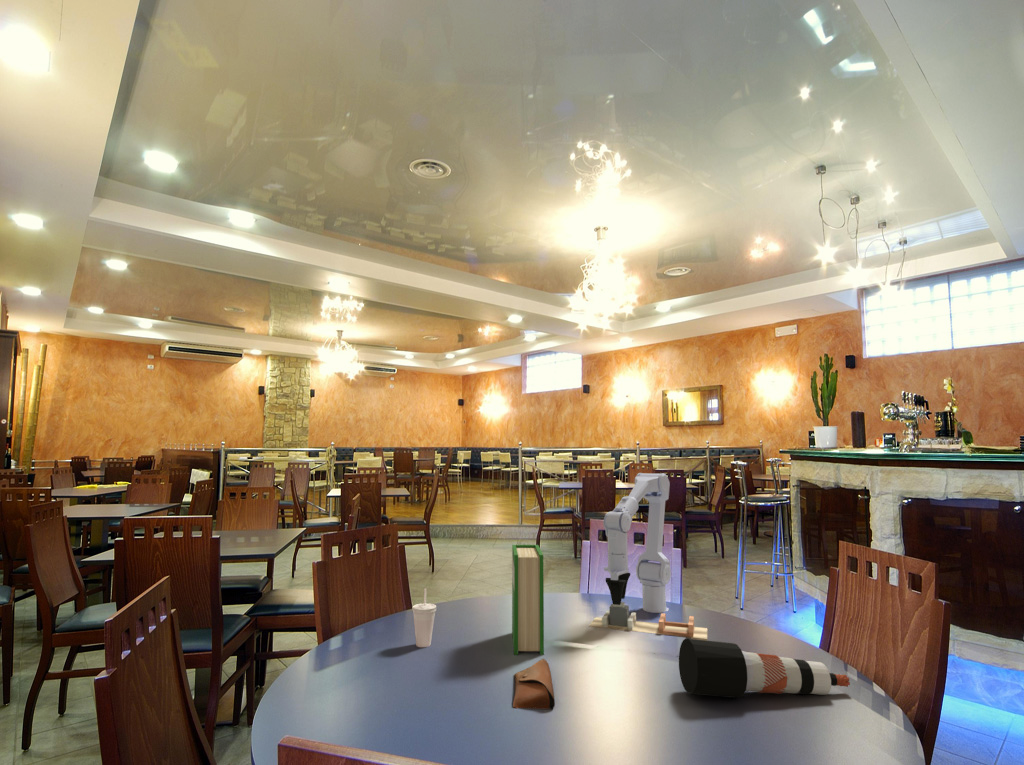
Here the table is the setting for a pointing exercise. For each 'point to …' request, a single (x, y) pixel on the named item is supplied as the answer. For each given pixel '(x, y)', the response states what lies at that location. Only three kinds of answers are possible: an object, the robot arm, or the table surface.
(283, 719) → the table surface
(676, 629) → the wooden board with blocks
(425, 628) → the smoothie
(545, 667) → the sunglasses case
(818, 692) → the striped tapered cone
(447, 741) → the table surface
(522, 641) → the hardback book
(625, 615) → the plug
